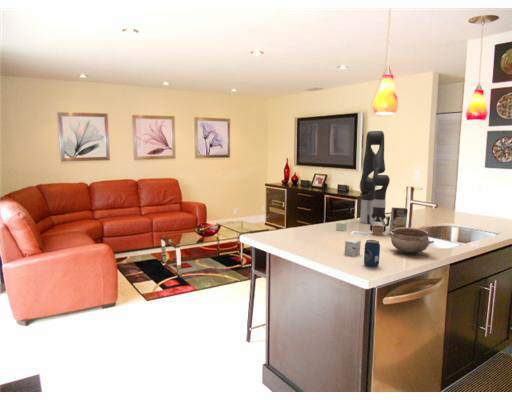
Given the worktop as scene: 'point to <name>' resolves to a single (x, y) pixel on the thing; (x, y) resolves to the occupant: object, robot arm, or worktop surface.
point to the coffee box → (398, 218)
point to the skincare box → (352, 247)
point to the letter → (360, 233)
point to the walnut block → (377, 230)
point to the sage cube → (341, 226)
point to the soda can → (371, 253)
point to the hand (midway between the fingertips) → (377, 231)
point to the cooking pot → (410, 240)
